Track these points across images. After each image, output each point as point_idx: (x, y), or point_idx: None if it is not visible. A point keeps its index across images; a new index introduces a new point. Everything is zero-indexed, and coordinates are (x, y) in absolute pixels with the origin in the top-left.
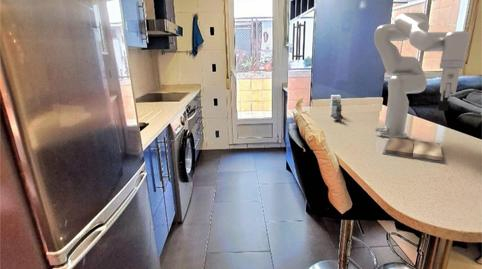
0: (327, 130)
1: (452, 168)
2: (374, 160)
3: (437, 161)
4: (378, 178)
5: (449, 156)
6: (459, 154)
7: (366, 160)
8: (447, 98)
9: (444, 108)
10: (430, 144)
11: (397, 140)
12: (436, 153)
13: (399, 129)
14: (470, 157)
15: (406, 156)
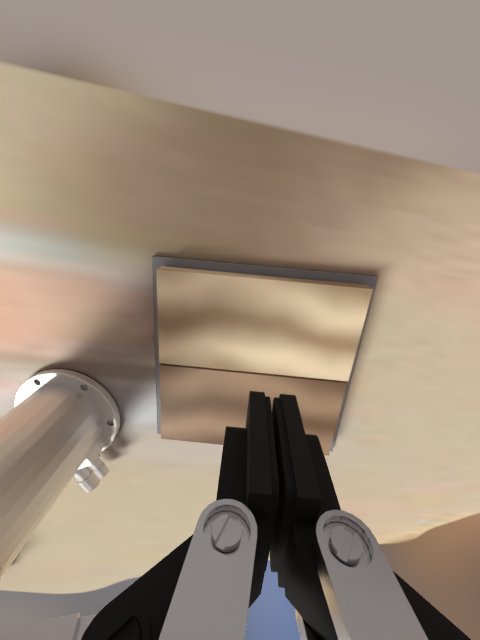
0: (135, 575)
1: (426, 255)
2: (405, 467)
3: (371, 299)
4: None
5: (272, 241)
6: (223, 194)
7: (411, 484)
8: (452, 632)
9: (315, 444)
10: (198, 311)
11: (192, 417)
12: (331, 305)
13: (79, 425)
14: (250, 152)
15: (345, 390)
